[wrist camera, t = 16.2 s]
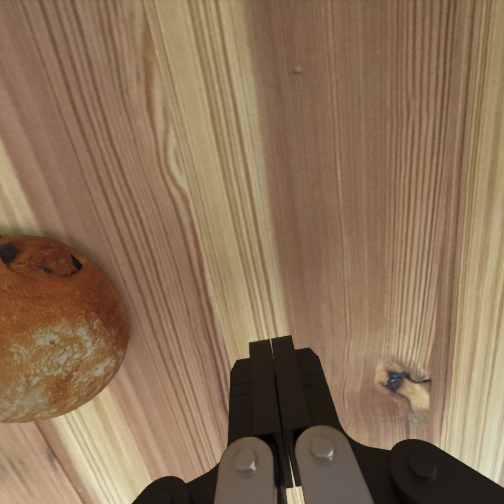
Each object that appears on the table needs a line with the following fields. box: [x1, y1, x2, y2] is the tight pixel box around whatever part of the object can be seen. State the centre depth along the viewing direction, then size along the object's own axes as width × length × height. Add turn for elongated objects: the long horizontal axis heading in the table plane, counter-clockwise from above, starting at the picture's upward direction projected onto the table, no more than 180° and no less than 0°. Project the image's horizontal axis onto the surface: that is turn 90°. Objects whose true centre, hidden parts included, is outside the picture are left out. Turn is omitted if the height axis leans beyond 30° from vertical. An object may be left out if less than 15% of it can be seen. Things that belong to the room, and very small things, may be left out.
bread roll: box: [0, 235, 129, 423], centre depth 17 cm, size 10×10×8 cm
